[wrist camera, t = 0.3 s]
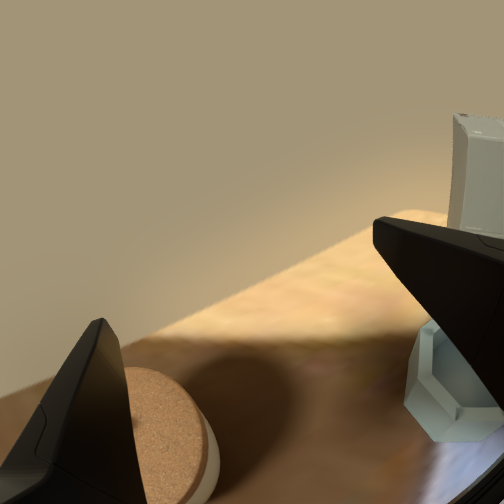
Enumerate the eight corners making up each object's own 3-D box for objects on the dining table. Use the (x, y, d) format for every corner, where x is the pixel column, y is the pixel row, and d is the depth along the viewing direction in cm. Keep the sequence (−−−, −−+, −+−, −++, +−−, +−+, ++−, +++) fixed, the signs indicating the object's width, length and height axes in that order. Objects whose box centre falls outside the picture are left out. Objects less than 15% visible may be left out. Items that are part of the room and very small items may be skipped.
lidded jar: (174, 389, 25) (122, 324, 19) (268, 465, 18) (238, 427, 13) (92, 463, 19) (16, 418, 14) (170, 555, 13) (89, 555, 7)
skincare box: (498, 291, 24) (541, 148, 15) (440, 283, 28) (467, 132, 18) (488, 241, 30) (511, 118, 20) (438, 234, 33) (451, 106, 23)
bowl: (527, 384, 16) (552, 356, 13) (454, 467, 14) (480, 451, 11) (459, 317, 24) (473, 284, 21) (381, 379, 22) (390, 349, 19)
